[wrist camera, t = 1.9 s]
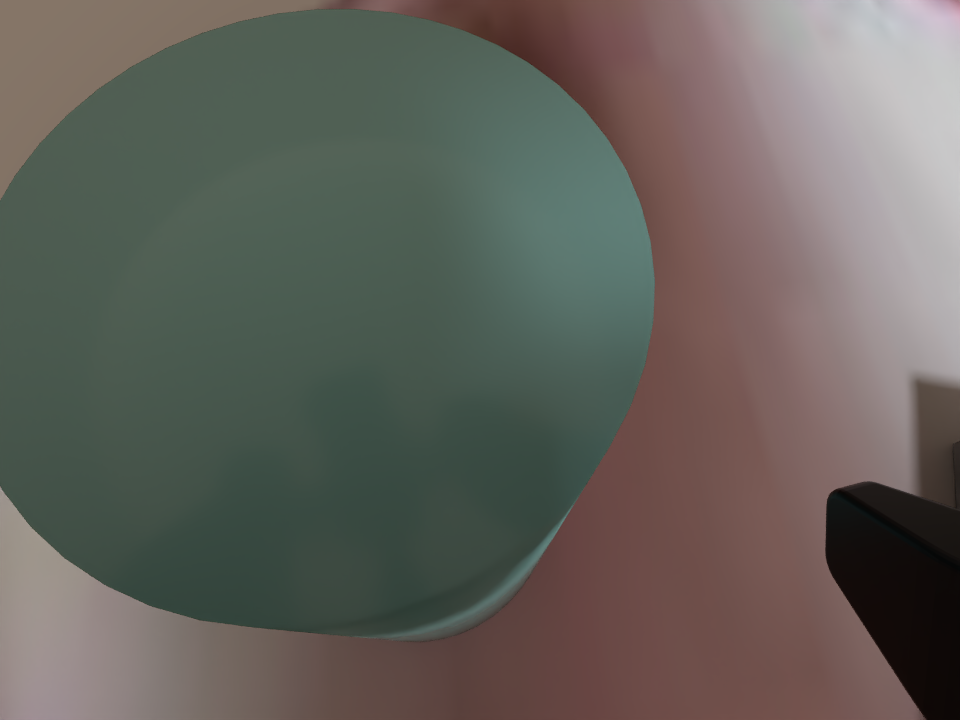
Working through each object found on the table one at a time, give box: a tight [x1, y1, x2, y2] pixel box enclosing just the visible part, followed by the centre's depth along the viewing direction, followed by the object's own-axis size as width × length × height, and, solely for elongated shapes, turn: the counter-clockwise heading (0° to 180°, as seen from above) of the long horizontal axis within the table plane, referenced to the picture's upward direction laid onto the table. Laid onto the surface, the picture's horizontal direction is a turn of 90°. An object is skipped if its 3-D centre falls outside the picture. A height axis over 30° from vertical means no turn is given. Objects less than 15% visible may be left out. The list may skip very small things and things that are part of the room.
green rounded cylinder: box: [0, 9, 655, 642], centre depth 12 cm, size 6×6×12 cm
